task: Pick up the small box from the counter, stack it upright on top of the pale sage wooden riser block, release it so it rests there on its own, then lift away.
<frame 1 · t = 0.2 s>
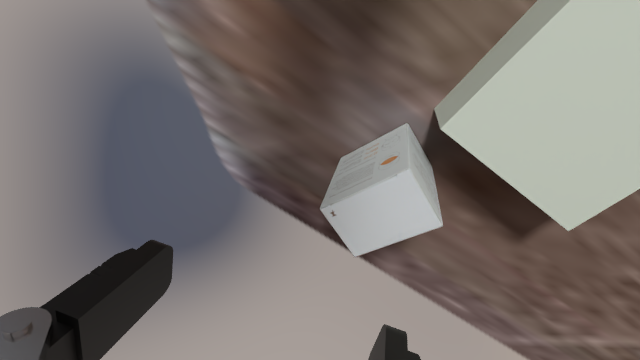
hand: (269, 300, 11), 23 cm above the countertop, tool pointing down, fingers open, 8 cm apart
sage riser: (557, 94, 27), on the countertop
small box: (385, 160, 33), on the countertop
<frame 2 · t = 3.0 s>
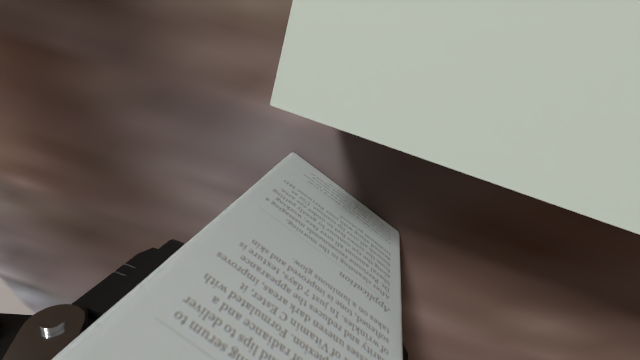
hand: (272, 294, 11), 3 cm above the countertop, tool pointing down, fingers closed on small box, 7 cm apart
small box: (297, 248, 14), on the countertop, touching gripper
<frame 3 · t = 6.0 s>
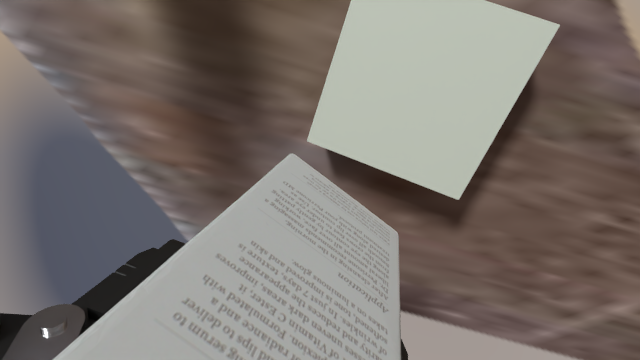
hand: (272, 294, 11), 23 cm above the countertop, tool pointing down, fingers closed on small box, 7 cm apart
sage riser: (412, 85, 30), on the countertop
small box: (297, 248, 14), point 20 cm above the countertop, touching gripper
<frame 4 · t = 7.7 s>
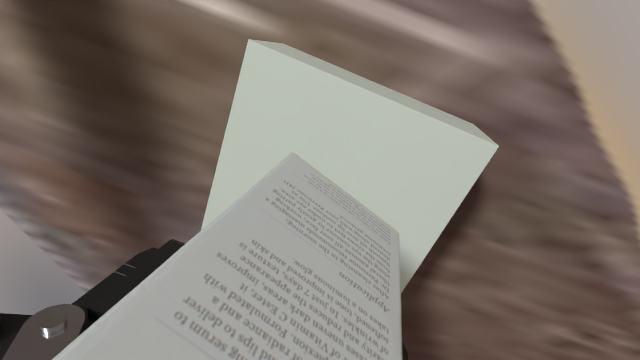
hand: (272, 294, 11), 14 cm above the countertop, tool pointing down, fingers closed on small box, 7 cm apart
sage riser: (338, 169, 24), on the countertop
small box: (297, 248, 14), point 11 cm above the countertop, touching gripper
when the fingers open (10 cm above the countertop, at t = 9.1 s): small box drops 2 cm, point 5 cm above the countertop.
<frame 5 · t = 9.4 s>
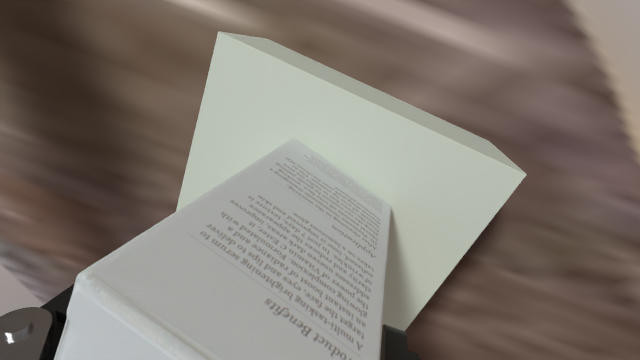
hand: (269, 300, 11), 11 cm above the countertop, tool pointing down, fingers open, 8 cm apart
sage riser: (329, 186, 21), on the countertop
small box: (302, 226, 16), point 5 cm above the countertop
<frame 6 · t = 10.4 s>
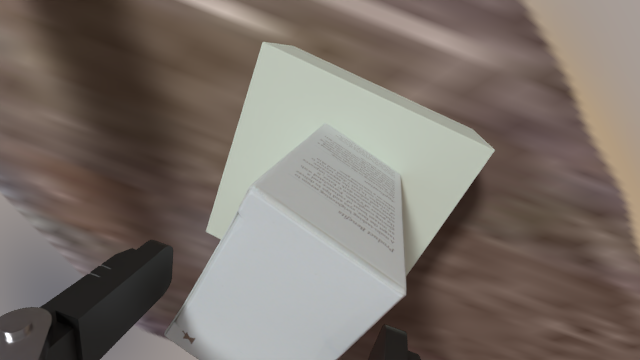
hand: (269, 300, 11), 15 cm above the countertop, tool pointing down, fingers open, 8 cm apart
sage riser: (342, 168, 25), on the countertop, touching small box
small box: (329, 194, 20), point 5 cm above the countertop, touching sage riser
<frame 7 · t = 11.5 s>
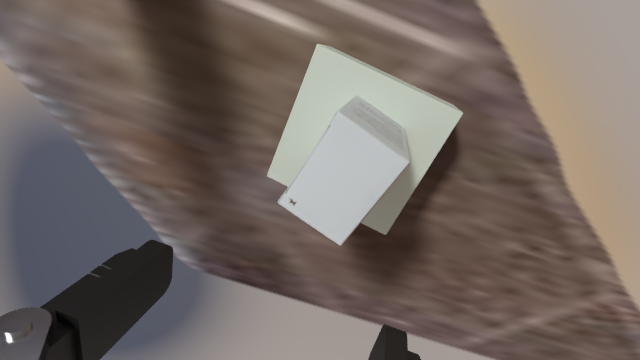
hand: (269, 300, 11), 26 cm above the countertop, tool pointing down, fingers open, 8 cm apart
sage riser: (360, 134, 35), on the countertop, touching small box
small box: (357, 144, 30), point 5 cm above the countertop, touching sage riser
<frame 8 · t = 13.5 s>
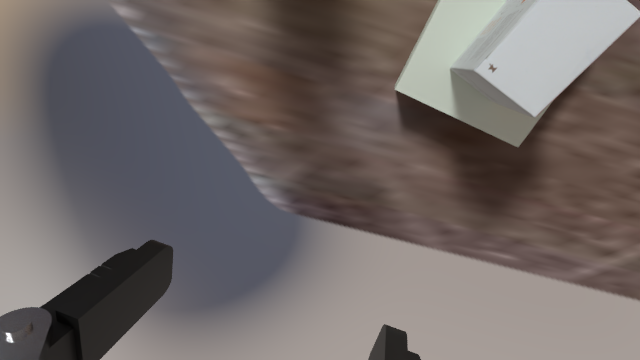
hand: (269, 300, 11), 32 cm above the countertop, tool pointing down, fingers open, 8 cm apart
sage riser: (481, 52, 35), on the countertop
small box: (501, 49, 30), point 5 cm above the countertop
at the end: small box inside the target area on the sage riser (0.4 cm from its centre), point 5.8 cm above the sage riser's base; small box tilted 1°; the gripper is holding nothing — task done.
